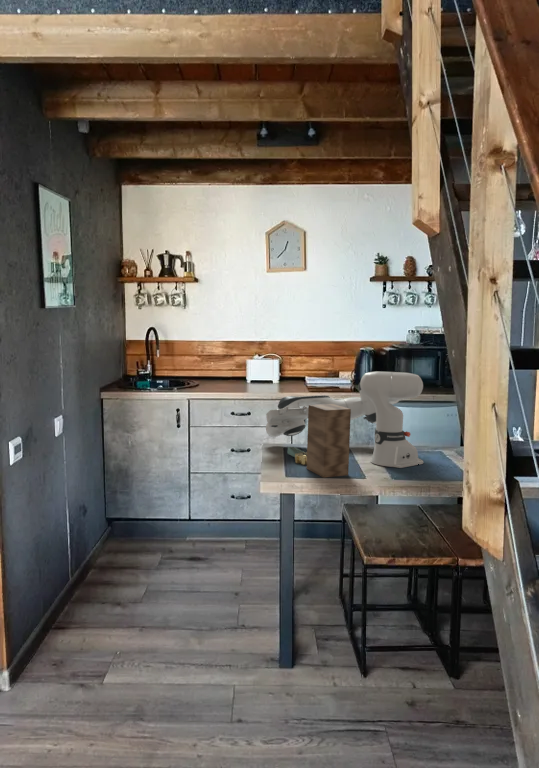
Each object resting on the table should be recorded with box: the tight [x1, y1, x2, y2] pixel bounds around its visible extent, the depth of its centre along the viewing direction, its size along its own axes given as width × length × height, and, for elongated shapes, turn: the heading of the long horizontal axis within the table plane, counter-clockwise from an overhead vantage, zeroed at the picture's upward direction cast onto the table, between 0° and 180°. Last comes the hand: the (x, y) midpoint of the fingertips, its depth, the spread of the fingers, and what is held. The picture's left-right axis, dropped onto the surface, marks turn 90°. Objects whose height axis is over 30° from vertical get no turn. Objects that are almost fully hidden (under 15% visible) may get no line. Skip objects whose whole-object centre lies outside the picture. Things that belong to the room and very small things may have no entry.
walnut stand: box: [306, 404, 351, 479], centre depth 223 cm, size 11×14×26 cm
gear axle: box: [287, 446, 307, 466], centre depth 245 cm, size 10×21×3 cm, turn 24°
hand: (296, 408), depth 248 cm, fingers open, 8 cm apart
